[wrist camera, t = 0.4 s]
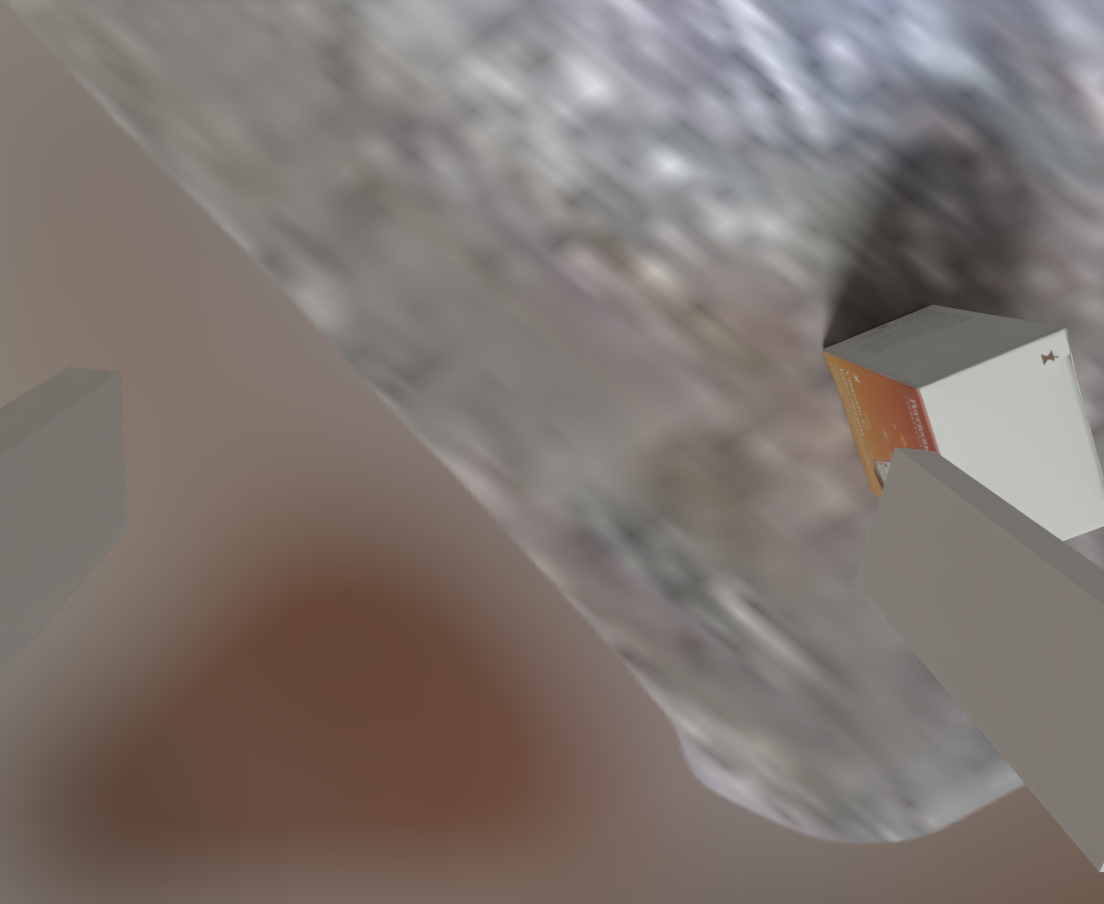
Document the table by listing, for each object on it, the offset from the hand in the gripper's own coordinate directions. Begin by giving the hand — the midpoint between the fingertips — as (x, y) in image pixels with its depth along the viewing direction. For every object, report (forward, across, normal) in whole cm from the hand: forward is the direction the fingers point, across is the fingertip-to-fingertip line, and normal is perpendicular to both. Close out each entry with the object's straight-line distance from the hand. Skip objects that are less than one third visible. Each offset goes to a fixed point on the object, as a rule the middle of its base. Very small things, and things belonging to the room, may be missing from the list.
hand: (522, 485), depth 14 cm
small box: (+24, +20, -4) cm, 31 cm away
